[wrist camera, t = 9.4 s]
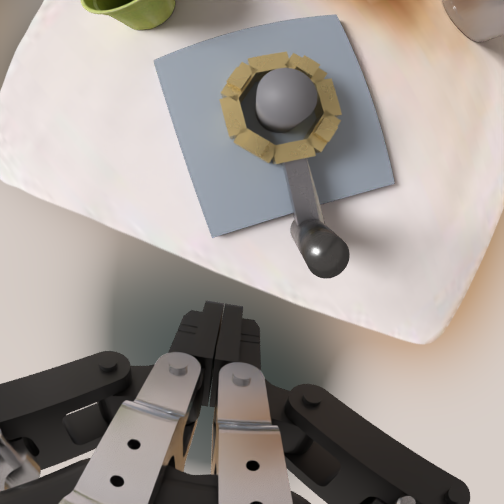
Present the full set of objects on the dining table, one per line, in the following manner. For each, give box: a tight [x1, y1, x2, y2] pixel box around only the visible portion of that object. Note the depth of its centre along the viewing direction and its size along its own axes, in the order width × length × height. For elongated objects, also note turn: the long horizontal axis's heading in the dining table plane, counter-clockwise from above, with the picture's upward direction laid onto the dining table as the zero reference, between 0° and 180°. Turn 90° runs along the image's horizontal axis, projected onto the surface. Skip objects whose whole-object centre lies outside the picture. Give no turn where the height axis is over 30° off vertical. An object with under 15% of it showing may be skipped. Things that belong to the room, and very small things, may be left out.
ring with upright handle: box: [219, 52, 349, 278], centre depth 21 cm, size 19×10×8 cm, turn 14°
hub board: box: [154, 15, 395, 238], centre depth 22 cm, size 20×22×8 cm
